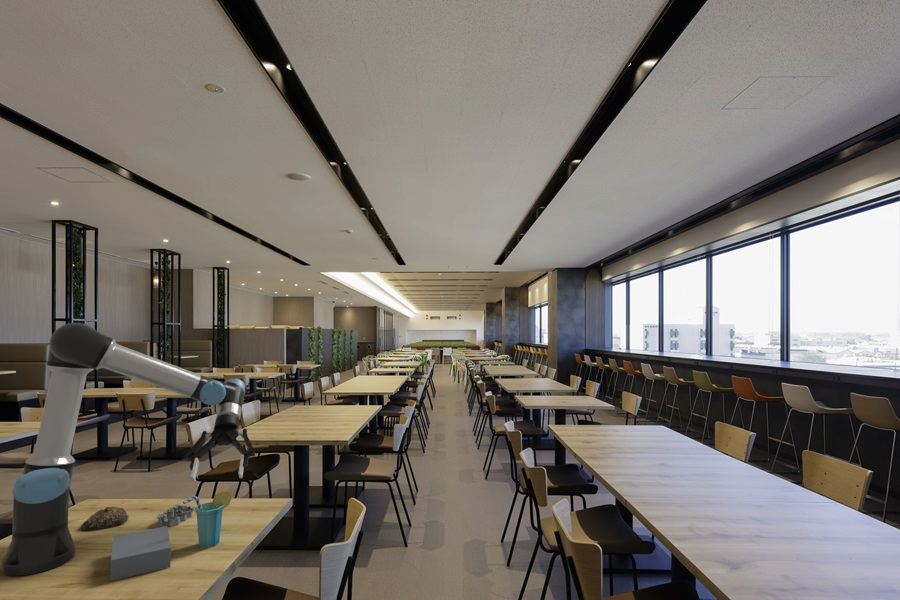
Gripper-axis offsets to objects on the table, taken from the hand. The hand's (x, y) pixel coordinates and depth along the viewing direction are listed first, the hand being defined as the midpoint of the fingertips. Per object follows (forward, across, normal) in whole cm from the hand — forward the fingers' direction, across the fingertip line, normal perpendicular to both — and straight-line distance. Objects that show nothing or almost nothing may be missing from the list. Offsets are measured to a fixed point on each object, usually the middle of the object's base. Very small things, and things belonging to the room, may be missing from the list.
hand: (216, 477), depth 154 cm
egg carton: (+3, +15, -21) cm, 26 cm away
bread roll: (0, +37, -24) cm, 44 cm away
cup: (+18, 0, -5) cm, 19 cm away
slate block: (+23, +15, 0) cm, 27 cm away
